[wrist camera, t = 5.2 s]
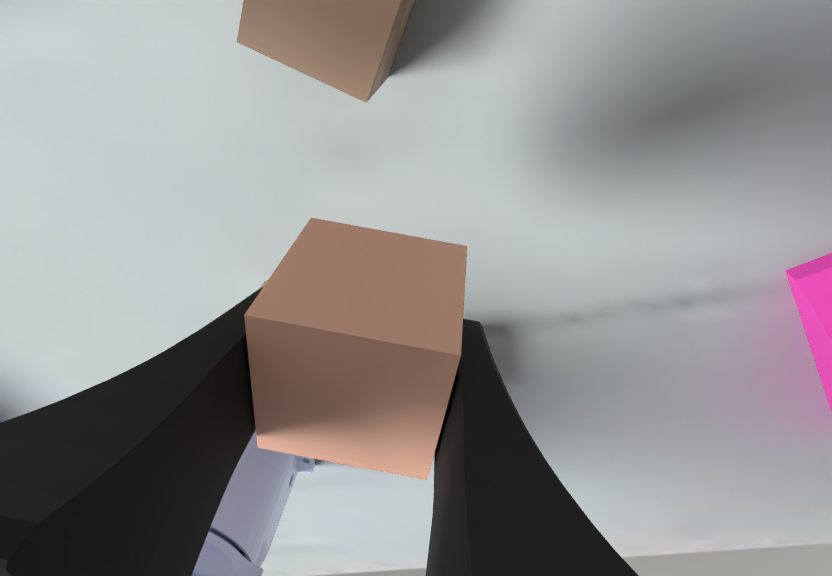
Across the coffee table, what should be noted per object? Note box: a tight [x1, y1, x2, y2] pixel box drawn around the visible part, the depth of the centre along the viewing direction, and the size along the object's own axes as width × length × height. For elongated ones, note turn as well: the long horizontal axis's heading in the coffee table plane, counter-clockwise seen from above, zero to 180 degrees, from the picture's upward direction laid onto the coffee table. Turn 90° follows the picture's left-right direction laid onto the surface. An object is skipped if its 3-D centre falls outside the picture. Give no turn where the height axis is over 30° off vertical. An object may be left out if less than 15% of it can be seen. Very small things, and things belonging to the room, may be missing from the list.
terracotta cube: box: [244, 218, 467, 480], centre depth 11 cm, size 4×4×4 cm
